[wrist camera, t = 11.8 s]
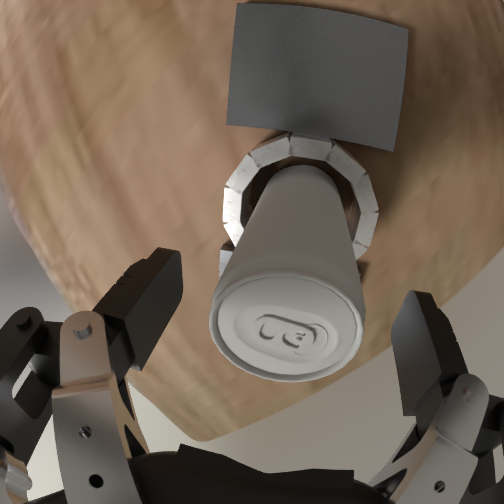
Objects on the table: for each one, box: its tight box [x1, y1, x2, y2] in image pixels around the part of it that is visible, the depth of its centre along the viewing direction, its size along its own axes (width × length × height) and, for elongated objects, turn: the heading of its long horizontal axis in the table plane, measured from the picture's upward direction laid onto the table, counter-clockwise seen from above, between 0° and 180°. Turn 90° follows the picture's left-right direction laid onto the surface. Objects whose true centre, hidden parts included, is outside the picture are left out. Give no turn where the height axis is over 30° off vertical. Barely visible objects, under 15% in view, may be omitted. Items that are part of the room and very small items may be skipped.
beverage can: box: [209, 165, 366, 382], centre depth 13 cm, size 5×5×12 cm
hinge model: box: [220, 3, 409, 278], centre depth 17 cm, size 25×10×3 cm, turn 175°
